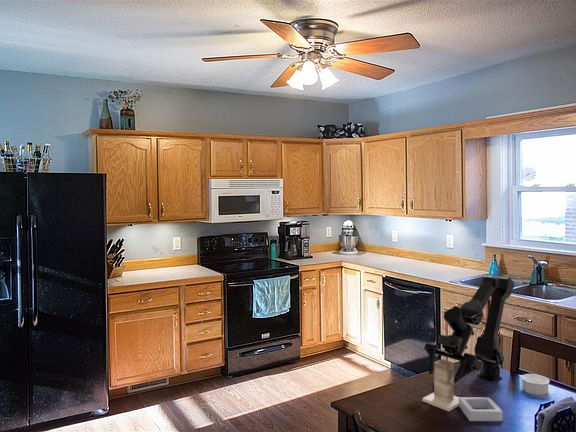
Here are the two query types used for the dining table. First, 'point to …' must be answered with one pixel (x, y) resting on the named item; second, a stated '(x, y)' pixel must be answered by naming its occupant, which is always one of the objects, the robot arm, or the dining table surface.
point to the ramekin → (535, 384)
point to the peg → (443, 380)
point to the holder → (480, 414)
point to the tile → (440, 404)
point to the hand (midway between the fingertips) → (441, 377)
